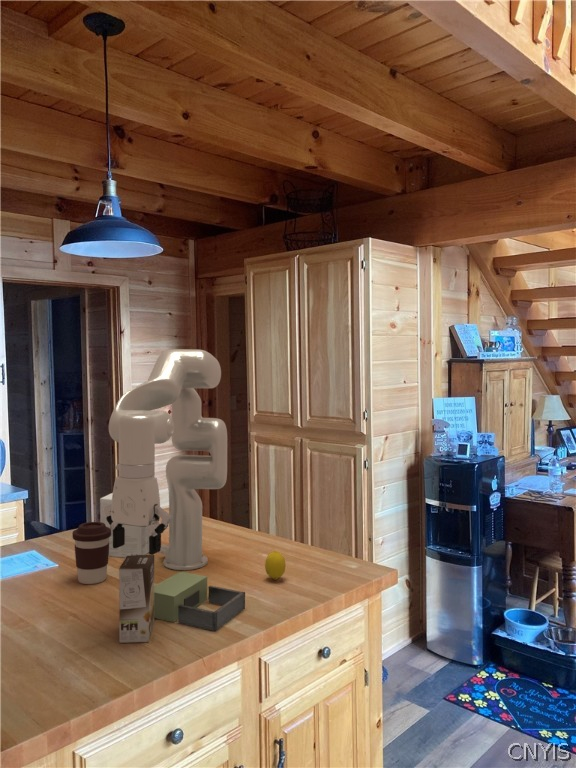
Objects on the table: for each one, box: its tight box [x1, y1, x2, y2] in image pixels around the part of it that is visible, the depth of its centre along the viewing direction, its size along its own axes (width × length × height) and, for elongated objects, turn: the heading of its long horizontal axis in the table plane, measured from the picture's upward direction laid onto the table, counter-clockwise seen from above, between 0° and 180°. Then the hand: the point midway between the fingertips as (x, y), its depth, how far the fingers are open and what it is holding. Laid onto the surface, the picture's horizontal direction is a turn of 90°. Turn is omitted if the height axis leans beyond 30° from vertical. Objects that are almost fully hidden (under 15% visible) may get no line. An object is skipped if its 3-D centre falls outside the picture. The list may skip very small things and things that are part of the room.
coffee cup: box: [72, 521, 111, 585], centre depth 167 cm, size 10×10×15 cm
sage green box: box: [154, 571, 208, 623], centre depth 150 cm, size 8×14×6 cm, turn 155°
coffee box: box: [118, 554, 155, 644], centre depth 136 cm, size 9×6×16 cm
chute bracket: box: [177, 585, 246, 632], centre depth 146 cm, size 10×14×4 cm
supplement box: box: [99, 492, 156, 558], centre depth 192 cm, size 13×13×18 cm
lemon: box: [264, 550, 286, 581], centre depth 169 cm, size 6×6×8 cm
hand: (136, 549), depth 135 cm, fingers open, 9 cm apart
